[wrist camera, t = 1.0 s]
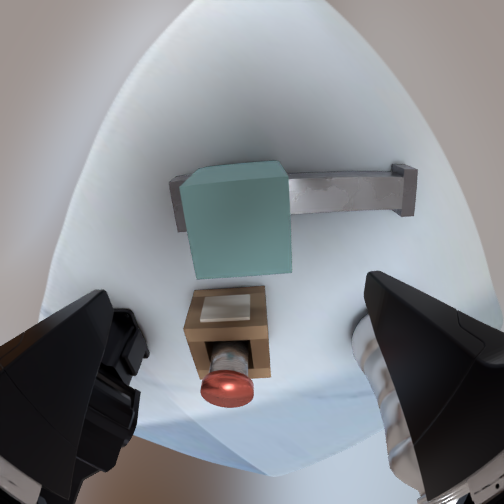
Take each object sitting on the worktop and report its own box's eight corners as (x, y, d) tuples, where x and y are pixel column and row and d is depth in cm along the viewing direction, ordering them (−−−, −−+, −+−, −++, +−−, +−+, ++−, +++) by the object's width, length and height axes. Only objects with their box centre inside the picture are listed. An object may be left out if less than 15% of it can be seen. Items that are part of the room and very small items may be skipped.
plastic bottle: (339, 349, 27) (385, 531, 9) (355, 298, 24) (437, 512, 6) (391, 345, 27) (453, 503, 9) (412, 296, 24) (509, 469, 6)
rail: (184, 222, 21) (178, 232, 19) (176, 176, 19) (168, 182, 18) (402, 207, 20) (413, 216, 19) (404, 164, 19) (417, 169, 17)
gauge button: (213, 355, 23) (206, 407, 18) (205, 324, 21) (195, 379, 17) (255, 353, 23) (255, 407, 18) (251, 322, 21) (251, 378, 16)
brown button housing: (206, 340, 26) (200, 379, 22) (194, 287, 24) (182, 325, 19) (268, 337, 26) (270, 377, 22) (264, 282, 23) (266, 322, 19)
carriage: (213, 229, 21) (196, 279, 15) (204, 163, 19) (179, 186, 13) (280, 224, 21) (291, 272, 15) (276, 156, 19) (288, 176, 12)
